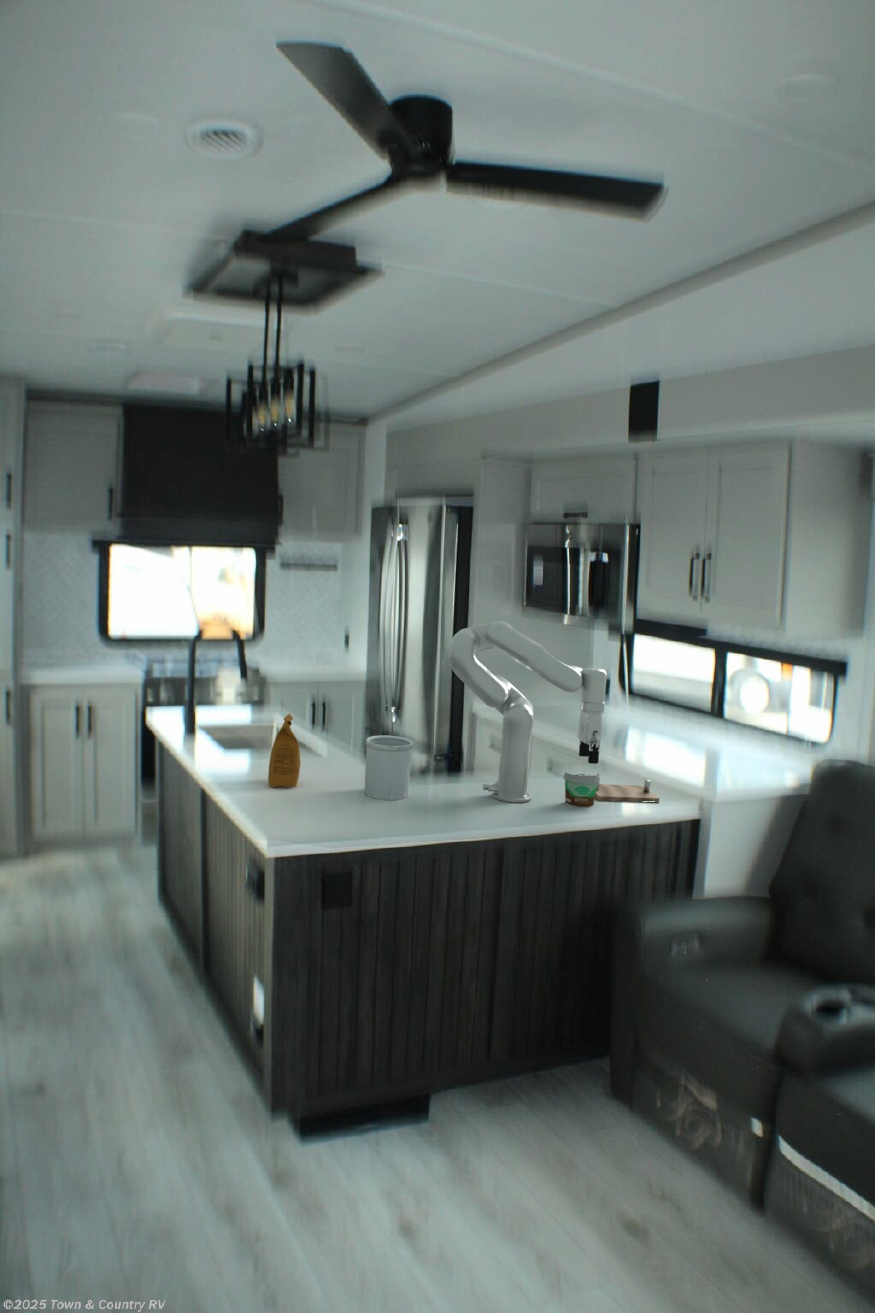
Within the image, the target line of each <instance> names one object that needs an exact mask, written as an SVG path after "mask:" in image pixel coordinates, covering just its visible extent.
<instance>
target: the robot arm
mask: <svg viewBox="0 0 875 1313" xmlns="http://www.w3.org/2000/svg"><path fill="white" fill-rule="evenodd" d="M492 649H495V650H496V651H498V652H499V653H502V654H503V655H505V656H506V657H508V658H510V659H511V660H514V661H515V662H517V663H518V664H519V665H522V666H523V667H524V668H527V669H528V670H529V671H531V672H532V673H534V674H535V675H537V676H539V677H541V678H542V679H543V680H545V681H546V682H548V683H550V684H551V685H553V686H555V687H556V688H558V689H559V690H562V691H564V692H566V693H575V692H578V690H580V689H581V693H580V694H581V695H580V708H579V711H580V715H579V719H578V720H579V721H578V731H577V739H578V740H579V748H578V756H579V757H584V758H585V757H587V758H588V760H587V762H588V764H599V758H600V757H599V756H600V751H601V750H600V748H601V745H600V744H601V741H602V725H603V721H602V714H604V713H605V702H606V688H607V687H606V686H607V672H606V670H605V669H603V668H597V667H581V666H576V665H567V664H566V663H564V662H563V661H560V660H559V659H558V658H556V657H555V656H553V655H552V654H551V653H549V652H548V651H547V650H546V649H545V647H543V646H542V645H541V644H540V643H538V642H537V641H535V640H533V639H531V638H529V637H528V636H526V635H524V634H523V633H521V632H520V631H518V630H516V629H515V628H513V627H512V626H511V624H509V623H508V622H506V621H503V620H499V621H494V622H490V623H486V624H480V625H475V626H470V627H465V628H462V629H460V630H459V631H458V632H456V633H455V634H454V636H453V637H452V639H451V641H450V644H449V647H448V654H447V655H448V656H447V657H448V662H449V665H450V666H449V667H450V668H451V670H452V671H453V673H454V674H455V675H456V676H457V677H458V679H460V680H461V681H462V682H463V684H465V685H466V686H467V687H468V688H469V689H470V690H471V692H473V693H474V694H475V695H476V696H477V697H478V698H479V699H480V700H481V701H482V702H483V704H485V706H488V707H489V708H495V709H496V711H498V712H499V713H500V714H501V715H502V727H501V728H502V729H501V730H502V731H501V744H500V754H499V755H500V756H499V767H498V777H497V778H498V780H497V781H495V783H492V784H489V783H483V784H482V789H483V791H488V792H492V794H491V796H492V797H493V799H495V800H499V801H503V802H507V803H517V804H518V803H526V802H530V801H531V800H532V795H531V794H530V793H528V783H529V782H528V781H529V780H528V779H529V772H530V770H529V769H530V758H531V750H532V749H531V748H532V737H533V736H532V735H533V728H534V726H533V725H534V719H535V717H534V716H535V714H534V713H535V710H534V707H533V705H532V703H531V701H530V700H529V699H528V698H527V697H525V696H524V695H523V694H522V693H521V692H520V691H519V689H517V688H516V687H515V686H514V685H513V684H512V683H511V682H510V681H508V679H506V678H505V677H504V676H501V675H499V674H498V675H496V674H494V673H492V672H491V671H490V670H489V669H488V668H487V666H485V665H484V664H483V663H482V662H480V661H479V659H478V658H477V656H476V653H478V652H482V651H488V650H492Z"/></svg>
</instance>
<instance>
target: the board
mask: <svg viewBox="0 0 875 1313" xmlns="http://www.w3.org/2000/svg"><path fill="white" fill-rule="evenodd" d="M651 782H652V781H651V780H650V779H644V781H643V783H644V784H643V785H631V784H629V785H628V784H604V783H603V784H602V783H600V782H599V783H598V785H597V790H596V795H595V800H597V801H599V802H623V801H655V802H659V803H660V797H658V796H657V795H655V794H654V793H653V792H651V791H650V790H651V789H650V788H651Z"/></svg>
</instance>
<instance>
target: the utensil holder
mask: <svg viewBox="0 0 875 1313" xmlns="http://www.w3.org/2000/svg"><path fill="white" fill-rule="evenodd" d="M365 744H366V751H365V752H366V753H365V768H364V769H365V770H364V772H365V774H364V794H365V795H366V796H368V797H369V798H372V799H376V800H383V801H398V800H403V799H406V798H407V797H408V795H409V786H410V778H411V777H410V776H411V765H412V753H413V748H414V741H413V740H412V739H410V738H407V737H403V736H399V735H398V736H397V735H389V734H387V735H386V734H385V735H371V736H369V737H367V738H366V740H365Z"/></svg>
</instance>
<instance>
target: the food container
mask: <svg viewBox="0 0 875 1313" xmlns="http://www.w3.org/2000/svg"><path fill="white" fill-rule="evenodd" d="M562 779H564V795H565V796H564V800H565V802H564V803H566V804H567V803H568V805H570V806H572V807H581V808H588V807H593V806H594V804H595V800H596V798H595V795H596V790H597V785H598V783H599V784H600V783H601V776H600V773H597V775H589V774H583V773H582V774H581V773H580V774H572V773H568V772H566V771H565V772H564V774H563V777H562Z"/></svg>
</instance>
